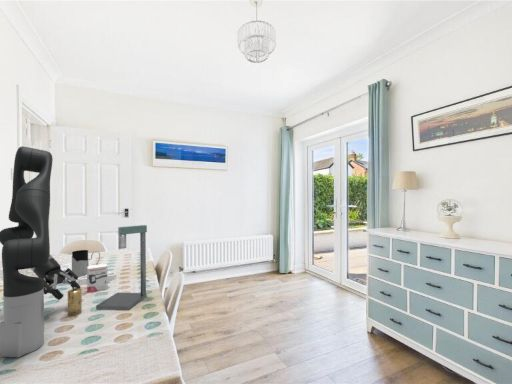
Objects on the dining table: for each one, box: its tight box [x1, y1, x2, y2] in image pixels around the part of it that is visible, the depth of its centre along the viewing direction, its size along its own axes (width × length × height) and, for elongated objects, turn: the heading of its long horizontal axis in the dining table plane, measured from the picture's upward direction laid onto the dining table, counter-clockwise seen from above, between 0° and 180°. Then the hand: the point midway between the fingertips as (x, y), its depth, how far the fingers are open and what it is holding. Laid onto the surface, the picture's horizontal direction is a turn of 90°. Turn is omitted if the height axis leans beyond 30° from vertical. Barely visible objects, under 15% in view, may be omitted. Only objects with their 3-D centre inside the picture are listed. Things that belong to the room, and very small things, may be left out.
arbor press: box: [95, 224, 148, 311], centre depth 112 cm, size 15×15×32 cm
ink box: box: [86, 263, 109, 294], centre depth 127 cm, size 8×5×12 cm, turn 123°
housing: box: [67, 287, 83, 317], centre depth 102 cm, size 4×4×10 cm
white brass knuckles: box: [77, 270, 117, 286], centre depth 142 cm, size 3×18×15 cm
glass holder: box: [71, 249, 101, 281], centre depth 148 cm, size 9×14×15 cm, turn 132°
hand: (70, 293), depth 102 cm, fingers open, 8 cm apart
